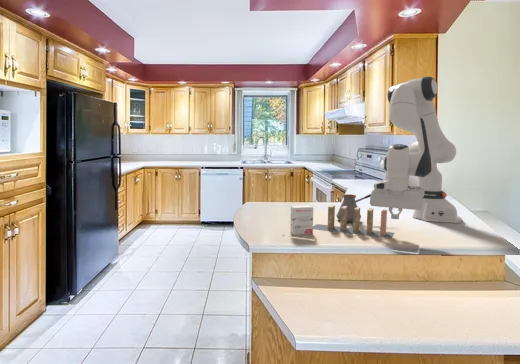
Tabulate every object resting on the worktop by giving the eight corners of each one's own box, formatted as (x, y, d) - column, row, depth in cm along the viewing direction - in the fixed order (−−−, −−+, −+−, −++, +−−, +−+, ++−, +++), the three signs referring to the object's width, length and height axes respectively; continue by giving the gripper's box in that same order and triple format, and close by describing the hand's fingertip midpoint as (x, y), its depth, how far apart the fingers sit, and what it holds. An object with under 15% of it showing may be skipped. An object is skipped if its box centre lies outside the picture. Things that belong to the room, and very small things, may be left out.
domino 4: (372, 231, 164) (373, 208, 163) (370, 234, 159) (371, 210, 158) (368, 231, 165) (369, 208, 163) (366, 233, 160) (367, 210, 159)
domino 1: (334, 227, 171) (334, 205, 170) (331, 229, 167) (331, 206, 165) (330, 226, 172) (331, 204, 170) (327, 229, 167) (328, 206, 166)
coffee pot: (340, 224, 179) (341, 192, 177) (333, 219, 190) (334, 189, 188) (384, 224, 180) (386, 192, 178) (375, 219, 192) (377, 189, 190)
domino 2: (346, 228, 169) (347, 206, 167) (343, 231, 164) (344, 208, 163) (342, 228, 169) (343, 205, 168) (340, 230, 165) (340, 207, 164)
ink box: (309, 232, 165) (310, 204, 163) (313, 235, 160) (313, 207, 158) (289, 233, 163) (290, 205, 162) (293, 236, 158) (293, 207, 157)
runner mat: (394, 234, 162) (394, 232, 162) (391, 239, 154) (391, 238, 153) (316, 225, 177) (316, 224, 177) (309, 230, 168) (309, 228, 168)
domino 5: (385, 233, 162) (387, 209, 160) (384, 235, 157) (385, 211, 156) (381, 232, 162) (383, 209, 161) (380, 235, 158) (381, 211, 157)
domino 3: (359, 230, 166) (360, 207, 165) (356, 232, 162) (357, 209, 161) (355, 229, 167) (356, 207, 166) (353, 232, 163) (353, 209, 161)
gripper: (425, 185, 154) (423, 219, 155) (372, 182, 162) (371, 214, 164) (424, 187, 148) (422, 223, 150) (369, 184, 157) (368, 217, 158)
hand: (395, 218), depth 157 cm, fingers closed
